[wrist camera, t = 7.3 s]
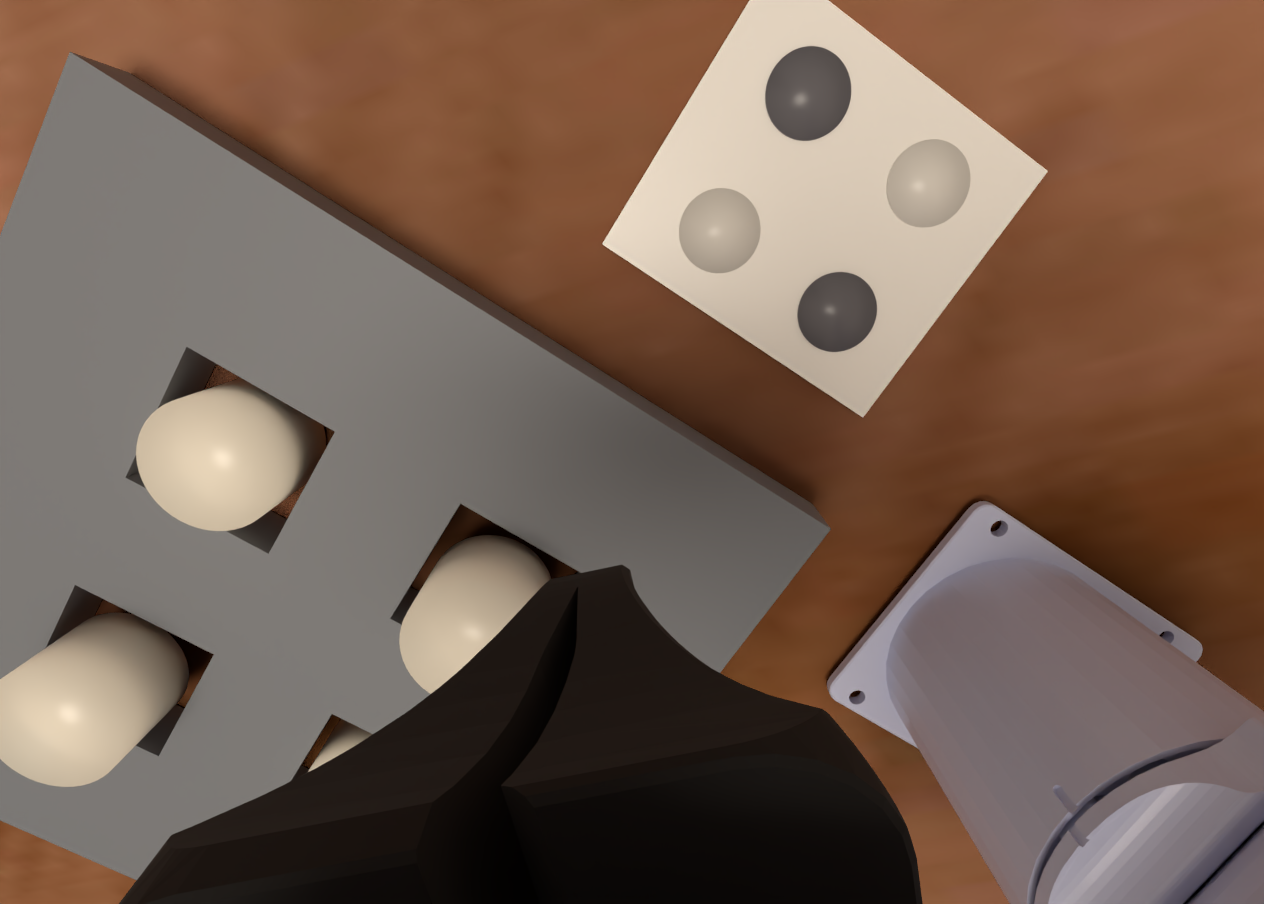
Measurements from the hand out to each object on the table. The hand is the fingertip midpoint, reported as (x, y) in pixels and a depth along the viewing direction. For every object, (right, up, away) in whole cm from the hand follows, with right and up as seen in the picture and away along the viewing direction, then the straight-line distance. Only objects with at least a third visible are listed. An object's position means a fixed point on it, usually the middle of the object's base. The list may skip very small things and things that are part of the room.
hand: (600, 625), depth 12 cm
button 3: (-10, +3, +9) cm, 14 cm away
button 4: (-15, -4, +10) cm, 18 cm away
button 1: (-4, -1, +9) cm, 10 cm away
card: (+6, +10, +8) cm, 13 cm away
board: (-9, -2, +11) cm, 14 cm away
